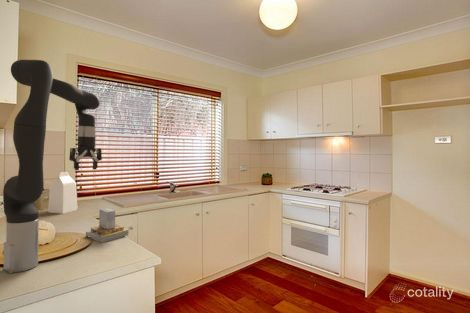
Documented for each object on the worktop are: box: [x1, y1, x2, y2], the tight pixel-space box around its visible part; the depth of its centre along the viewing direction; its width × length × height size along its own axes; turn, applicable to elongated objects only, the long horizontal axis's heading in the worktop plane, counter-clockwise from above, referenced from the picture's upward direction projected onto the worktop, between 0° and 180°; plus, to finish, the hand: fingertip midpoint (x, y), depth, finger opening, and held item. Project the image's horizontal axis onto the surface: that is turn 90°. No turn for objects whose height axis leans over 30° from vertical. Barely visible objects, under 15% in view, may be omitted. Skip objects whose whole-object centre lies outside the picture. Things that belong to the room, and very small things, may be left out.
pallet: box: [90, 223, 125, 236], centre depth 134 cm, size 11×11×2 cm
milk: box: [47, 171, 78, 215], centre depth 179 cm, size 12×12×26 cm
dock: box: [85, 228, 130, 243], centre depth 134 cm, size 14×14×3 cm
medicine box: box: [98, 208, 116, 229], centre depth 133 cm, size 8×4×9 cm, turn 52°
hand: (86, 169), depth 129 cm, fingers open, 8 cm apart
